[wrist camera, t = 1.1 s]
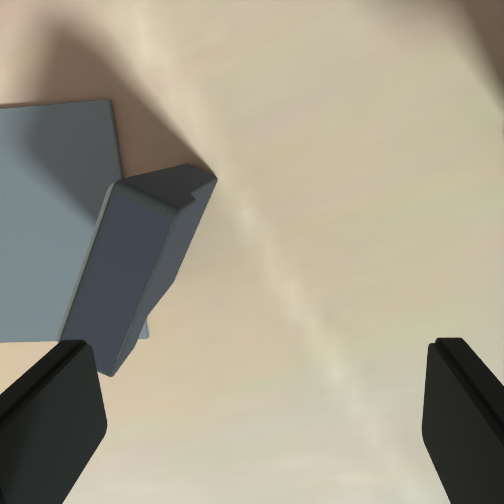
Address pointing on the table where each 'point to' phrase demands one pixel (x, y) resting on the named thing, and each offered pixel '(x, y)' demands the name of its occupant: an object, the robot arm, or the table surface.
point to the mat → (50, 208)
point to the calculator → (133, 258)
